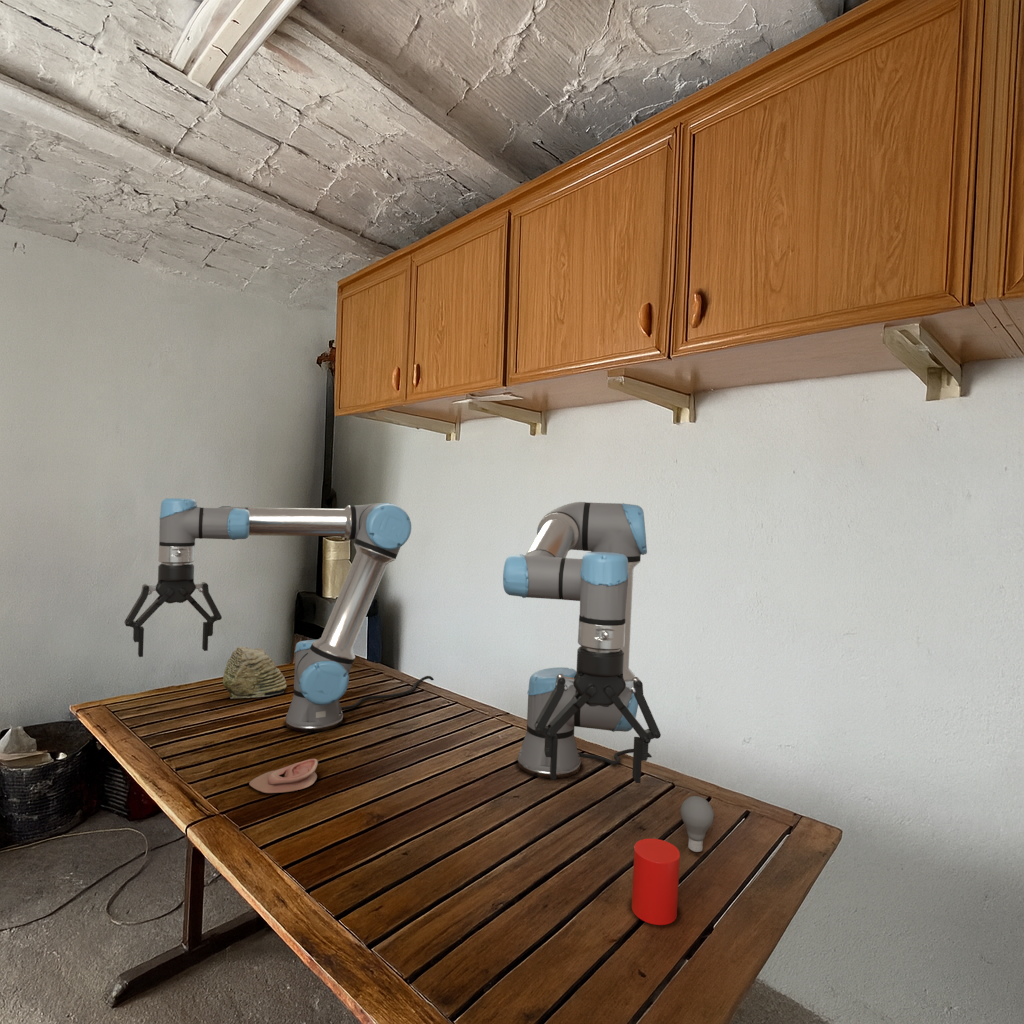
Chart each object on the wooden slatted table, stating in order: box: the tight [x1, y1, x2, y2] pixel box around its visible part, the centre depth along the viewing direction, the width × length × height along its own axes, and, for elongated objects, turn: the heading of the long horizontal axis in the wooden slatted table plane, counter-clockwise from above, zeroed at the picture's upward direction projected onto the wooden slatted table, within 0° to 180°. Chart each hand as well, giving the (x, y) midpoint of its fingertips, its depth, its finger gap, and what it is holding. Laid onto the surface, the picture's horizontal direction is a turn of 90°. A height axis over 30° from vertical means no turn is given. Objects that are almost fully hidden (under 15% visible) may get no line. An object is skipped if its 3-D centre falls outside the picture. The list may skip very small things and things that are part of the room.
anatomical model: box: [248, 758, 319, 794], centre depth 139 cm, size 13×4×12 cm
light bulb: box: [680, 795, 715, 853], centre depth 119 cm, size 6×6×10 cm
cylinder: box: [631, 838, 681, 926], centre depth 101 cm, size 7×7×10 cm
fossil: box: [222, 646, 288, 699], centre depth 198 cm, size 9×18×15 cm, turn 132°
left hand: (173, 652), depth 150 cm, fingers open, 13 cm apart
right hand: (594, 778), depth 103 cm, fingers open, 13 cm apart
